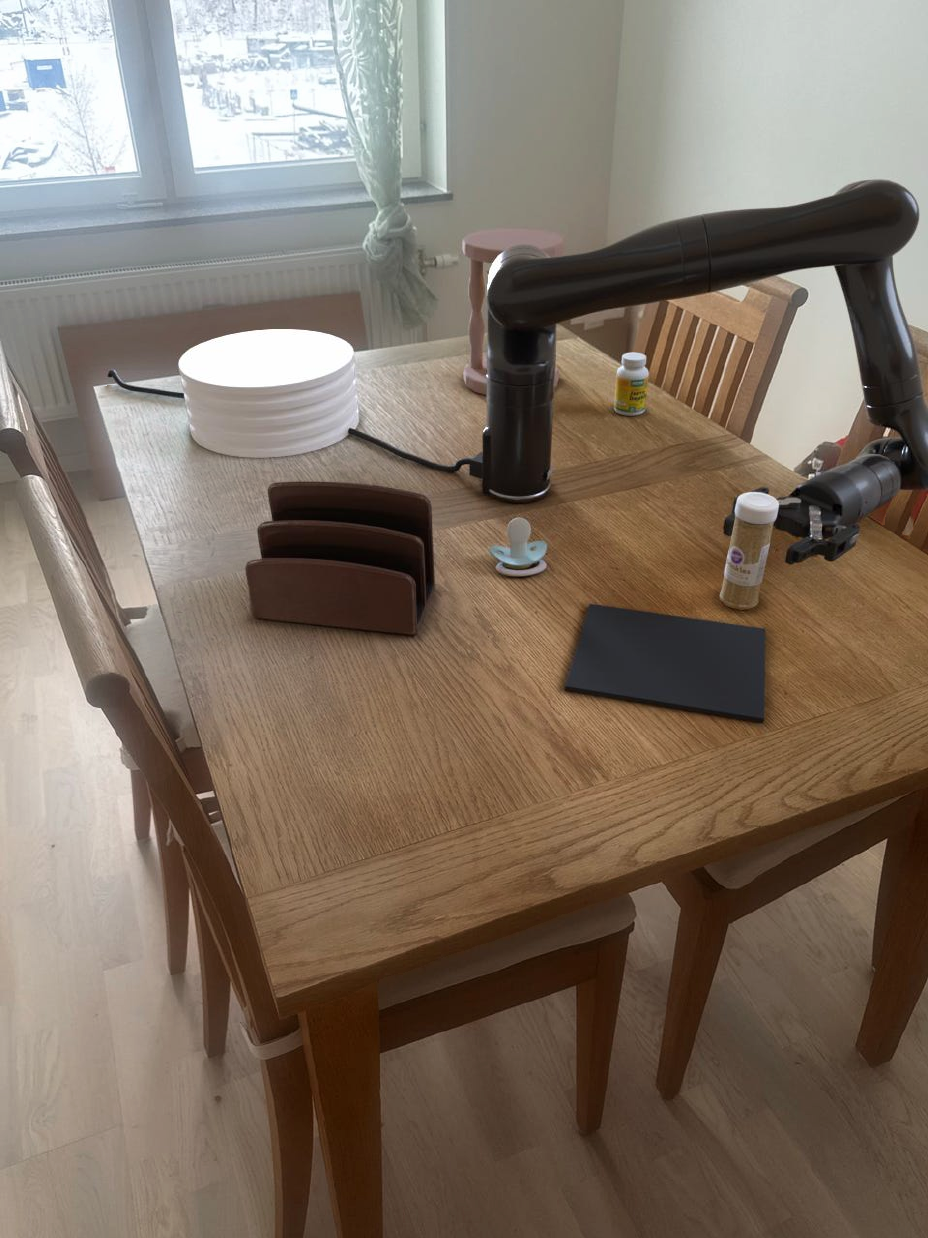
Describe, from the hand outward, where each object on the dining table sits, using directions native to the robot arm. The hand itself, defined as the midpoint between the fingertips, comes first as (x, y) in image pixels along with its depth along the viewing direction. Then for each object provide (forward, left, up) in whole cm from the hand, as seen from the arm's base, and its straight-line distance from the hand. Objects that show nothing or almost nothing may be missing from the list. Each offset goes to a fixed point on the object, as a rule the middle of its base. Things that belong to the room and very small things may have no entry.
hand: (756, 542), depth 106 cm
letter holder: (-46, -14, -8) cm, 49 cm away
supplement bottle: (-21, +55, -8) cm, 59 cm away
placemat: (-8, -15, -8) cm, 19 cm away
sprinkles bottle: (-1, -1, -8) cm, 8 cm away
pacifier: (-28, 0, -8) cm, 29 cm away
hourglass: (-44, +64, -8) cm, 78 cm away
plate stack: (-78, +35, -8) cm, 86 cm away
